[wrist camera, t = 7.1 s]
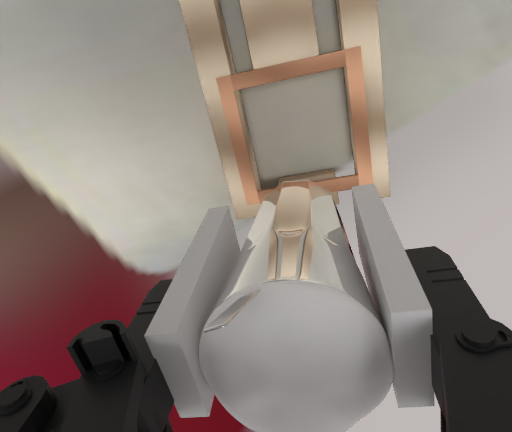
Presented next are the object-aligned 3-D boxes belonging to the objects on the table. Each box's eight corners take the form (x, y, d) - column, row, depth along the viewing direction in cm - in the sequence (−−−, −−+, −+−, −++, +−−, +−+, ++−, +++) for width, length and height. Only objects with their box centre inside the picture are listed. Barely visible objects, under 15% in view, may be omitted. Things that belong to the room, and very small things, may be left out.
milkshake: (323, 126, 14) (350, 288, 5) (368, 240, 16) (442, 497, 7) (219, 170, 16) (104, 358, 7) (272, 271, 18) (236, 521, 9)
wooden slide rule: (123, -247, 21) (103, -276, 19) (345, -339, 18) (350, -384, 16) (240, 208, 32) (236, 220, 30) (385, 186, 30) (391, 198, 28)
